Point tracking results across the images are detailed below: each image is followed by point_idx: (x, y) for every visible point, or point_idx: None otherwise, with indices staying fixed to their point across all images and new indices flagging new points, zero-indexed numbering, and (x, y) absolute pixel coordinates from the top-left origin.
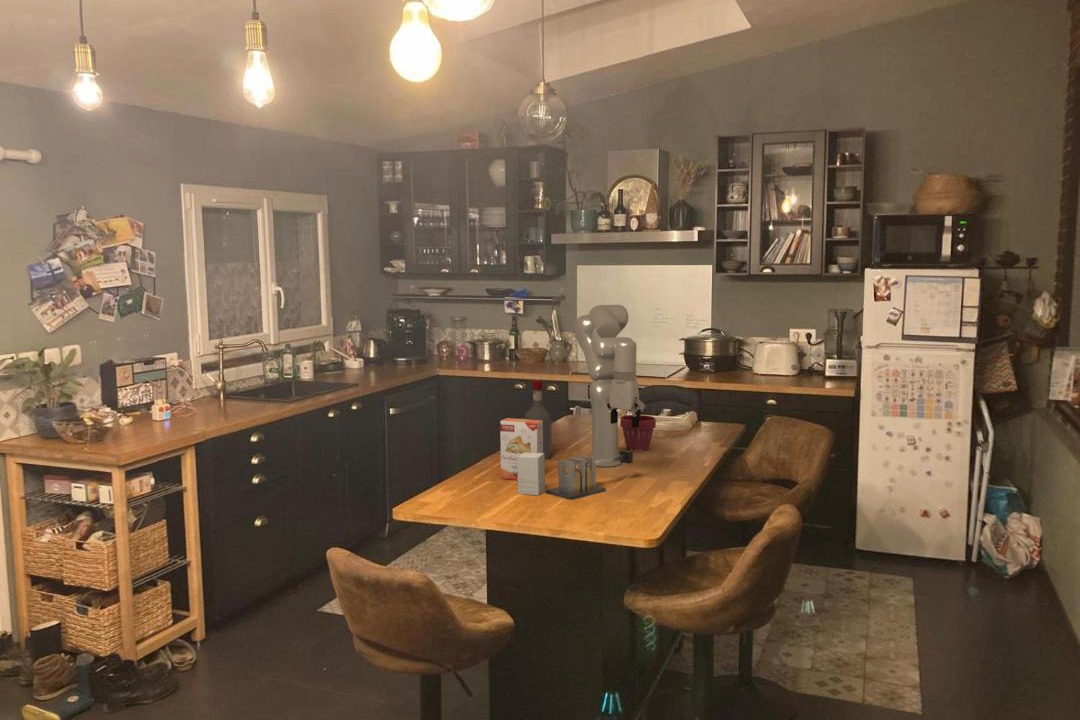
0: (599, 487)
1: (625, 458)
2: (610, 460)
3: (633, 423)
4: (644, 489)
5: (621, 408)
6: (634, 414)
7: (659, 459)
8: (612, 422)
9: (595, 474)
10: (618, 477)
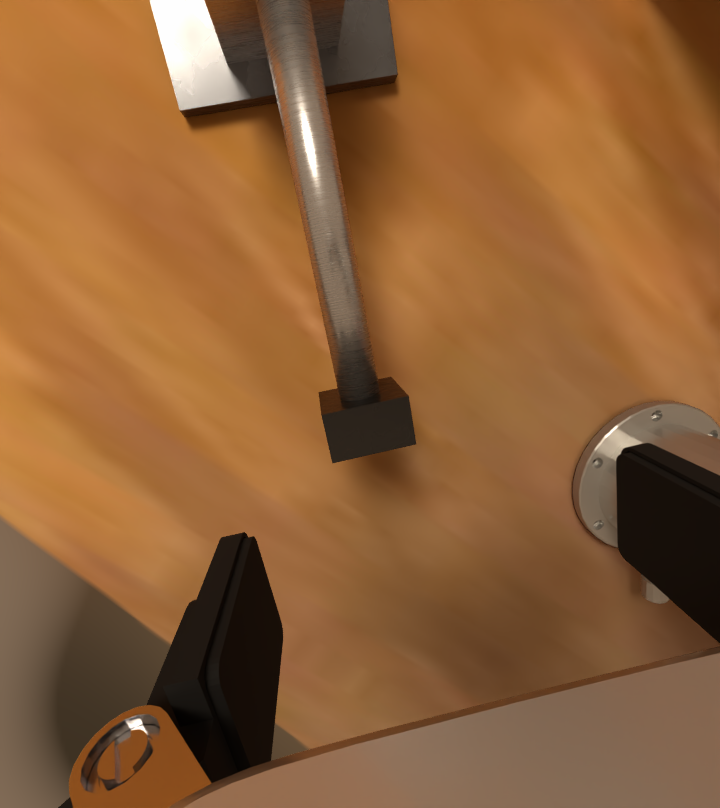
0: (211, 83)
1: (339, 393)
2: (304, 229)
3: (209, 588)
4: (117, 333)
5: (512, 727)
6: (125, 770)
7: (542, 685)
8: (626, 461)
9: (209, 12)
10: (402, 372)
